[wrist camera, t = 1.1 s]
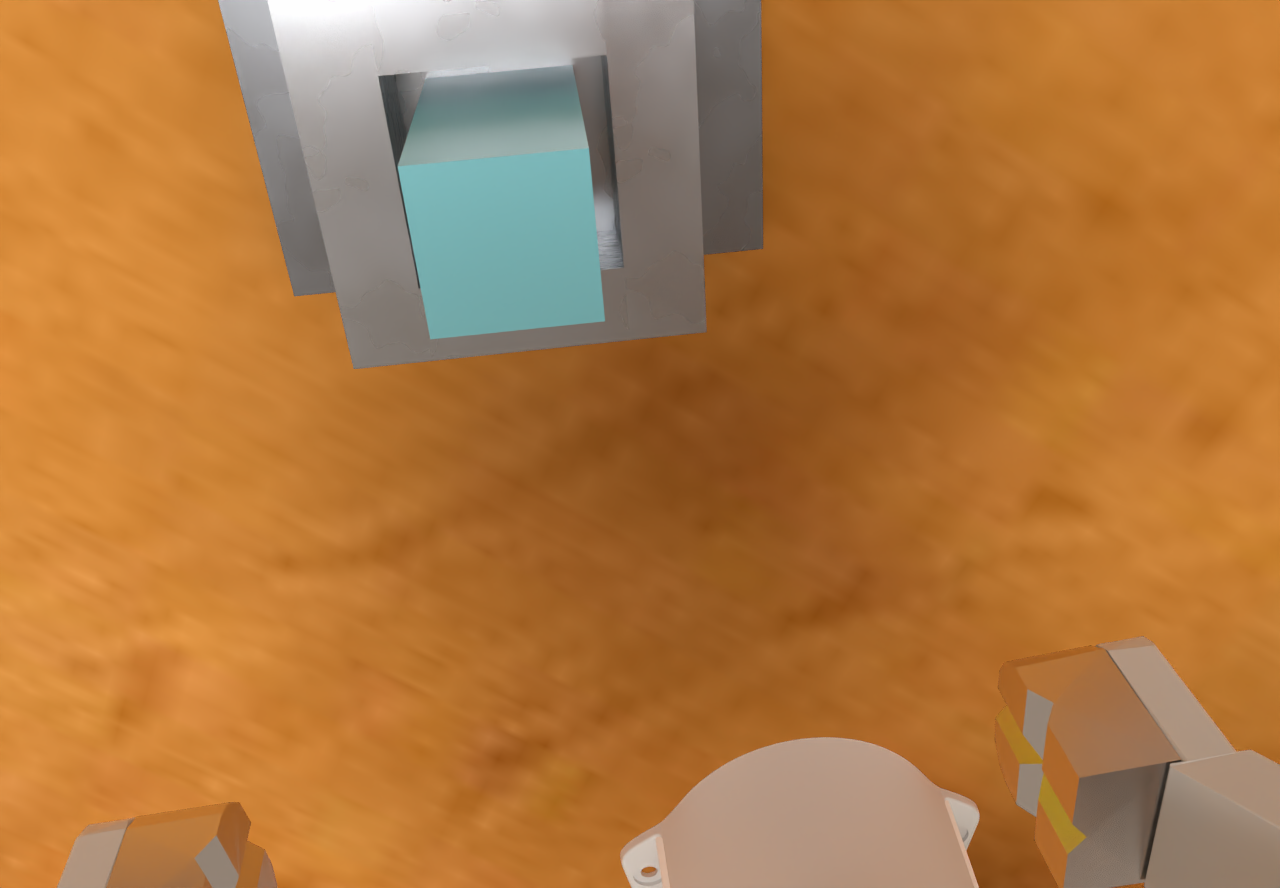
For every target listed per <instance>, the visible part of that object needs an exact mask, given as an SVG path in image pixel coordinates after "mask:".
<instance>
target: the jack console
mask: <svg viewBox="0 0 1280 888" xmlns="http://www.w3.org/2000/svg"><path fill="white" fill-rule="evenodd" d="M218 2H219V5H220V9H221V13H222V17H223V21H224V25H225V29H226V33H227V36H228V40H229V44H230V48H231V52H232V56H233V60H234V64H235V68H236V71H237V75H238V79H239V83H240V87H241V91H242V95H243V99H244V102H245V106H246V110H247V114H248V118H249V122H250V126H251V130H252V134H253V137H254V141H255V145H256V149H257V153H258V157H259V161H260V165H261V169H262V172H263V176H264V180H265V184H266V188H267V192H268V196H269V200H270V203H271V207H272V211H273V215H274V219H275V223H276V227H277V231H278V235H279V238H280V242H281V246H282V250H283V254H284V258H285V262H286V266H287V269H288V273H289V277H290V281H291V285H292V289H293V293H294V296H301V295H311V294H321V293H331V292H336V295H337V300H338V304H339V308H340V312H341V317H342V321H343V325H344V329H345V334H346V338H347V342H348V346H349V351H350V355H351V359H352V363H353V368H354V369H359V368H369V367H378V366H388V365H397V364H407V363H416V362H426V361H435V360H445V359H454V358H464V357H474V356H483V355H493V354H502V353H512V352H521V351H531V350H540V349H550V348H560V347H569V346H579V345H588V344H598V343H607V342H617V341H626V340H636V339H645V338H655V337H665V336H674V335H684V334H693V333H703V332H707V329H706V303H705V278H704V255H706V254H716V253H726V252H736V251H746V250H756V249H763V177H762V57H761V0H218ZM566 65H573V70H574V75H575V80H576V86H577V91H578V96H579V101H580V106H581V111H582V116H583V121H584V126H585V131H586V136H587V141H588V146H589V155H590V166H591V176H592V187H593V198H594V208H595V219H596V230H597V240H598V251H599V262H600V272H601V283H602V294H603V304H604V315H605V321H603V322H593V323H584V324H574V325H564V326H555V327H545V328H535V329H526V330H516V331H506V332H497V333H487V334H478V335H468V336H458V337H449V338H439V339H430V335H429V329H428V324H427V319H426V314H425V308H424V303H423V298H422V293H421V287H420V282H419V277H418V271H417V266H416V261H415V256H414V250H413V245H412V240H411V235H410V229H409V224H408V219H407V213H406V208H405V203H404V198H403V192H402V187H401V182H400V177H399V171H398V164H399V161H400V157H401V154H402V151H403V148H404V145H405V142H406V139H407V135H408V132H409V129H410V126H411V123H412V120H413V117H414V113H415V110H416V107H417V104H418V101H419V98H420V95H421V91H422V88H423V85H424V82H425V79H426V78H436V77H447V76H458V75H468V74H479V73H490V72H501V71H512V70H522V69H533V68H544V67H555V66H566Z"/></svg>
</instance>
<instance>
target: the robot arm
mask: <svg viewBox="0 0 1280 888" xmlns="http://www.w3.org/2000/svg"><path fill="white" fill-rule="evenodd" d="M998 689H999V691H1000V693H1001V695H1002V697H1003V699H1004V700H1005V702H1006V704H1007V705H1006V706H1005V707H1004V708H1003V709H1002V710H1001V712H1000V713H999V714H998V715H997V716H996V718H995V743H996V749H997V754H998V760H999V765H1000V768H1001V770H1002V773H1003V776H1004V779H1005V782H1006V784H1007V786H1008V788H1009V791H1010V793H1011V795H1012V797H1013V799H1014V801H1015V803H1016V804H1017V805H1018V806H1020V807H1021V808H1023V809H1024V810H1026V811H1027V812H1029V813H1031V814H1032V815H1034V816H1035V817H1036V826H1035V836H1034V841H1035V843H1036V845H1037V847H1038V849H1039V851H1040V853H1041V854H1042V856H1043V858H1044V860H1045V862H1046V864H1047V866H1048V868H1049V870H1050V872H1051V874H1052V876H1053V878H1054V880H1055V882H1056V884H1057V886H1058V888H1111V887H1118V886H1124V885H1130V884H1137V883H1143V882H1145V884H1144V887H1145V888H1280V764H1278V763H1276V762H1274V761H1272V760H1270V759H1268V758H1266V757H1264V756H1262V755H1260V754H1258V753H1257V752H1255V751H1253V750H1245V751H1238V752H1237V751H1236V750H1235V749H1234V747H1233V746H1232V745H1231V744H1230V742H1229V741H1228V740H1227V738H1226V737H1225V736H1224V734H1223V733H1222V732H1221V730H1220V729H1219V728H1218V727H1217V725H1216V724H1215V723H1214V721H1213V720H1212V719H1211V717H1210V716H1209V715H1208V713H1207V712H1206V711H1205V710H1204V708H1203V707H1202V706H1201V704H1200V703H1199V702H1198V700H1197V699H1196V698H1195V696H1194V695H1193V694H1192V693H1191V691H1190V690H1189V689H1188V687H1187V686H1186V685H1185V683H1184V682H1183V681H1182V679H1181V678H1180V677H1179V676H1178V674H1177V673H1176V672H1175V670H1174V669H1173V668H1172V666H1171V665H1170V664H1169V662H1168V661H1167V660H1166V659H1165V657H1164V656H1163V655H1162V653H1161V652H1160V651H1159V649H1158V648H1157V647H1156V645H1155V644H1154V643H1153V642H1152V641H1150V640H1149V639H1147V638H1145V637H1144V636H1141V637H1136V638H1130V639H1125V640H1120V641H1114V642H1109V643H1103V644H1098V645H1096V646H1091V645H1090V646H1085V647H1079V648H1074V649H1069V650H1064V651H1059V652H1053V653H1048V654H1043V655H1038V656H1032V657H1027V658H1022V659H1017V660H1012V661H1006V662H1004V663H1003V665H1002V667H1001V669H1000V671H999V681H998ZM979 818H980V814H979V811H978V807H977V805H976V804H975V803H974V802H973V801H972V800H970V799H968V798H967V797H964V796H962V795H959V794H957V793H954V792H951V791H948V790H945V789H942V788H939V787H938V786H936V785H935V784H934V783H932V782H931V781H930V780H929V779H928V778H927V777H926V776H925V775H924V774H923V773H922V772H921V771H920V770H919V769H917V768H916V767H915V766H914V765H913V764H912V763H910V762H909V761H908V760H906V759H905V758H903V757H901V756H900V755H898V754H896V753H894V752H892V751H890V750H888V749H886V748H883V747H880V746H878V745H875V744H872V743H868V742H864V741H859V740H854V739H846V738H832V737H820V738H806V739H798V740H791V741H786V742H781V743H777V744H773V745H770V746H766V747H763V748H760V749H757V750H755V751H752V752H749V753H747V754H745V755H742V756H740V757H738V758H736V759H734V760H732V761H730V762H728V763H726V764H725V765H723V766H722V767H720V768H718V769H717V770H715V771H714V772H712V773H711V774H709V775H708V776H707V777H705V778H704V779H703V780H702V781H700V782H699V783H698V784H697V785H696V786H695V787H694V788H693V789H692V790H691V791H690V792H689V793H688V794H687V795H686V796H685V797H684V798H683V799H682V801H681V802H680V803H679V804H678V805H677V806H676V807H675V808H674V810H673V811H672V812H671V813H670V814H669V815H668V816H667V817H666V818H665V819H664V820H663V821H662V822H661V823H659V824H657V825H656V826H654V827H652V828H650V829H649V830H647V831H645V832H644V833H642V834H640V835H639V836H637V837H636V838H634V839H633V840H631V841H630V842H629V843H627V844H626V845H625V846H624V848H623V849H622V850H621V853H620V859H621V864H622V867H623V869H624V872H625V874H626V876H627V878H628V881H629V883H630V885H631V888H979V886H978V883H977V880H976V877H975V875H974V872H973V869H972V866H971V863H970V860H969V858H968V855H967V852H966V850H967V848H968V845H969V843H970V841H971V838H972V836H973V834H974V831H975V829H976V827H977V824H978V822H979ZM250 825H251V822H250V820H249V818H248V816H247V815H246V813H245V811H244V809H243V808H242V806H241V804H240V803H239V802H228V803H222V804H215V805H209V806H202V807H196V808H189V809H183V810H176V811H170V812H163V813H157V814H150V815H144V816H137V817H134V818H128V819H122V820H116V821H109V822H103V823H97V824H91V825H88V826H87V827H86V828H85V829H84V830H83V831H82V833H81V834H80V835H79V836H78V837H77V839H76V840H75V842H74V845H73V847H72V850H71V853H70V855H69V858H68V860H67V863H66V865H65V868H64V870H63V873H62V876H61V878H60V881H59V883H58V886H57V888H277V883H276V878H275V874H274V870H273V866H272V863H271V861H270V859H269V857H268V855H267V853H266V851H265V849H263V848H261V847H259V846H257V845H255V844H253V843H251V842H249V841H247V838H248V834H249V829H250ZM649 866H651V867H655V868H656V870H655V871H654V872H651V873H644V872H642V871H641V870H642V869H643V868H645V867H649Z"/></svg>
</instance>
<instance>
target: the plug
mask: <svg viewBox="0 0 1280 888" xmlns="http://www.w3.org/2000/svg"><path fill="white" fill-rule="evenodd" d="M398 171H399V177H400V182H401V187H402V192H403V198H404V203H405V208H406V213H407V219H408V224H409V229H410V235H411V240H412V245H413V250H414V256H415V261H416V266H417V271H418V277H419V282H420V287H421V293H422V298H423V303H424V308H425V314H426V319H427V324H428V329H429V335H430V339H439V338H449V337H458V336H468V335H478V334H487V333H497V332H506V331H516V330H526V329H535V328H545V327H555V326H564V325H574V324H584V323H593V322H603V321H605V315H604V304H603V294H602V283H601V272H600V262H599V251H598V240H597V230H596V219H595V208H594V198H593V187H592V176H591V166H590V155H589V146H588V141H587V136H586V131H585V126H584V121H583V116H582V111H581V106H580V101H579V96H578V91H577V86H576V80H575V75H574V70H573V65H566V66H555V67H544V68H533V69H522V70H512V71H501V72H490V73H479V74H468V75H458V76H447V77H436V78H426V79H425V82H424V85H423V88H422V91H421V95H420V98H419V101H418V104H417V107H416V110H415V113H414V117H413V120H412V123H411V126H410V129H409V132H408V135H407V139H406V142H405V145H404V148H403V151H402V154H401V157H400V161H399V164H398Z"/></svg>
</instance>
